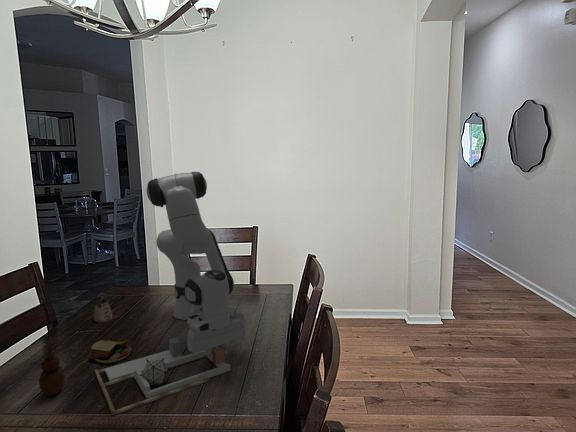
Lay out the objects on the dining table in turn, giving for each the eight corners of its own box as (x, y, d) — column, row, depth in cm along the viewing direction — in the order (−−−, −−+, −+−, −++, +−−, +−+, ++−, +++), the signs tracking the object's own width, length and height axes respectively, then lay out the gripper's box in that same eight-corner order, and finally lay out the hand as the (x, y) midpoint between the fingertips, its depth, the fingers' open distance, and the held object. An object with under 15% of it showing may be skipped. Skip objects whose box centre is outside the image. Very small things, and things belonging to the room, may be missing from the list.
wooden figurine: (49, 386, 120) (44, 340, 118) (68, 385, 121) (64, 340, 119) (37, 399, 114) (32, 351, 111) (57, 398, 114) (53, 350, 112)
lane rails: (180, 348, 144) (180, 345, 144) (209, 380, 123) (209, 377, 123) (95, 373, 127) (94, 369, 127) (112, 415, 107) (112, 411, 106)
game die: (158, 398, 120) (154, 385, 113) (136, 384, 122) (131, 371, 115) (176, 373, 126) (174, 360, 119) (155, 360, 128) (151, 346, 121)
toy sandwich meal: (120, 366, 132) (119, 353, 132) (83, 363, 134) (82, 351, 133) (138, 348, 144) (137, 336, 144) (104, 346, 146) (103, 334, 145)
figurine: (115, 316, 173) (113, 290, 171) (106, 323, 166) (104, 296, 164) (100, 315, 174) (98, 290, 172) (91, 322, 167) (88, 295, 165)
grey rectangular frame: (213, 352, 140) (212, 339, 140) (231, 370, 129) (231, 356, 128) (134, 377, 125) (133, 362, 124) (147, 399, 113) (146, 384, 112)
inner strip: (176, 350, 142) (175, 335, 141) (183, 359, 136) (182, 343, 135) (105, 371, 128) (103, 354, 127) (110, 382, 122) (108, 364, 121)
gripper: (239, 308, 140) (240, 344, 142) (184, 322, 128) (186, 361, 130) (248, 314, 135) (248, 351, 137) (191, 329, 123) (193, 369, 125)
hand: (217, 356), depth 134 cm, fingers open, 3 cm apart
